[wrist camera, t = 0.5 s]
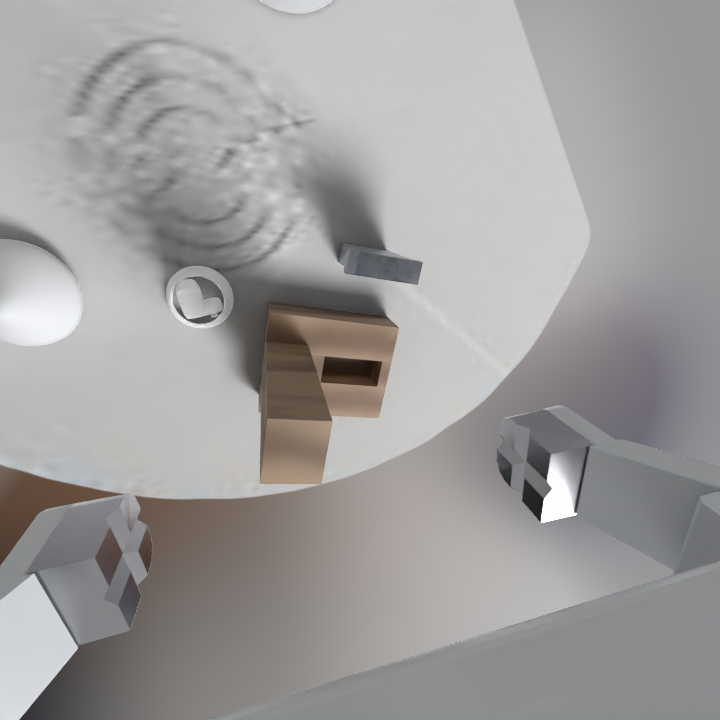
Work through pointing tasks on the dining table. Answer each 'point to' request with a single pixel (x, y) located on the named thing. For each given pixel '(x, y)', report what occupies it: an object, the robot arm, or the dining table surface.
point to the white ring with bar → (199, 296)
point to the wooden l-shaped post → (317, 384)
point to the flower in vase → (36, 295)
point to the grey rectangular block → (378, 264)
